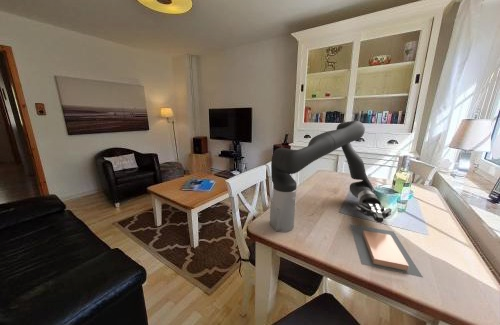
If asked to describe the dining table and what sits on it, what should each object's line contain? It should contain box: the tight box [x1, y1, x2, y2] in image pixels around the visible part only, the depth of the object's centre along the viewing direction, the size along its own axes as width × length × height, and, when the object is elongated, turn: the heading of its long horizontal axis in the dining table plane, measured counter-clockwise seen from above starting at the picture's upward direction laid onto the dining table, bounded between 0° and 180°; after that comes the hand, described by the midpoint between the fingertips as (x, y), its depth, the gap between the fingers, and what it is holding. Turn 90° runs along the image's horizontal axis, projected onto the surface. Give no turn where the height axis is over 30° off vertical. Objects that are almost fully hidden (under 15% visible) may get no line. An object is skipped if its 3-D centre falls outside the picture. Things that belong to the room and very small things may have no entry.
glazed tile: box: [363, 230, 409, 271], centre depth 68 cm, size 2×9×16 cm
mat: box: [349, 224, 424, 278], centre depth 71 cm, size 24×16×1 cm, turn 162°
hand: (379, 220), depth 72 cm, fingers closed
